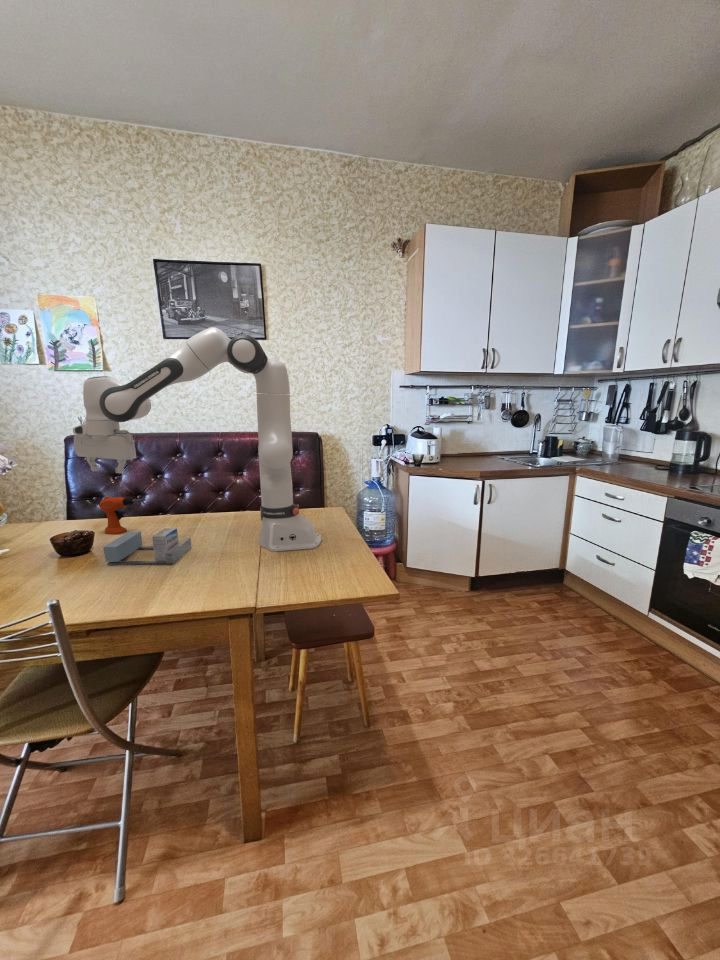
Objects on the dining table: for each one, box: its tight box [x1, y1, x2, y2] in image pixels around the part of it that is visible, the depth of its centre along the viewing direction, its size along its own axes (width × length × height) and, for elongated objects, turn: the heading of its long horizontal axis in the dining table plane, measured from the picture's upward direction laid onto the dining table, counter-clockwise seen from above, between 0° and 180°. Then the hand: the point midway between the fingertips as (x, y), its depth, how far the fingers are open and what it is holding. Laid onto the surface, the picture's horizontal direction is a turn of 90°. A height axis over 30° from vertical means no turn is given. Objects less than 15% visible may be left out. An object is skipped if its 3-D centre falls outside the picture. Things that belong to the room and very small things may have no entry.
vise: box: [106, 537, 192, 566], centre depth 128 cm, size 20×14×4 cm
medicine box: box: [151, 527, 180, 561], centre depth 128 cm, size 8×4×9 cm, turn 179°
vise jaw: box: [103, 531, 143, 563], centre depth 128 cm, size 4×14×5 cm, turn 0°
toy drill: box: [98, 496, 146, 535], centre depth 151 cm, size 5×19×15 cm, turn 87°
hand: (107, 471), depth 126 cm, fingers open, 8 cm apart
